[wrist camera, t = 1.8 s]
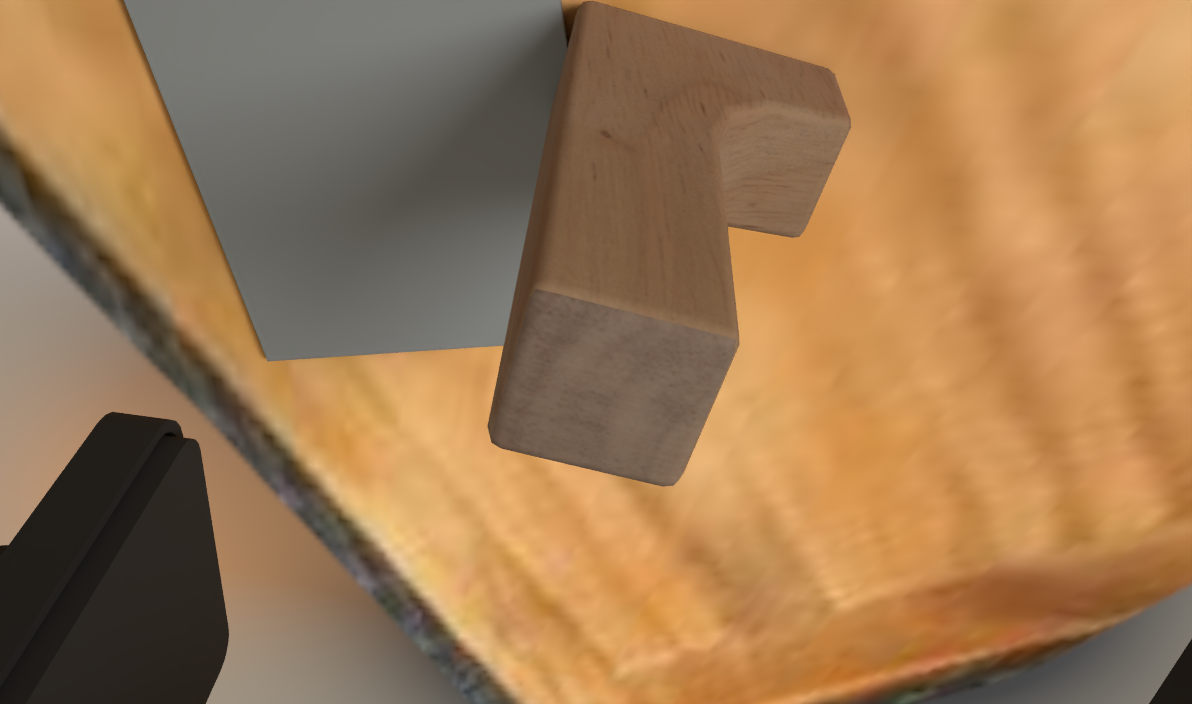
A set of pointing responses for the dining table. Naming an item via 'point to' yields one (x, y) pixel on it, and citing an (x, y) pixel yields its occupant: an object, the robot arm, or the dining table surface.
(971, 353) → the dining table surface
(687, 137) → the wooden block
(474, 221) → the mat
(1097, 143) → the dining table surface
